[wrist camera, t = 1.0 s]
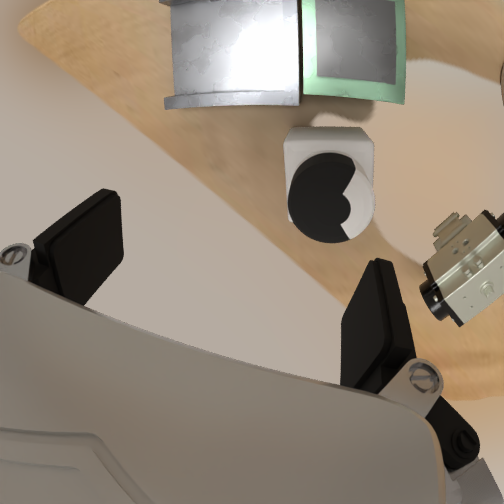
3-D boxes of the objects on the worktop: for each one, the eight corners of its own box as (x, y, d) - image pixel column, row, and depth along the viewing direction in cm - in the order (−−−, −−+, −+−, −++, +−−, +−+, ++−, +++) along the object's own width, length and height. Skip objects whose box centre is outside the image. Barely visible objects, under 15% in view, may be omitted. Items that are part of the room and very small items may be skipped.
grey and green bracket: (387, -6, 19) (405, -25, 13) (387, 110, 25) (405, 120, 20) (174, -2, 23) (141, -15, 17) (179, 105, 29) (148, 115, 24)
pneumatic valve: (492, 211, 28) (543, 270, 18) (424, 271, 34) (450, 344, 24) (471, 177, 27) (527, 230, 17) (399, 243, 33) (424, 316, 23)
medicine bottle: (294, 193, 32) (281, 254, 22) (289, 126, 29) (274, 156, 19) (361, 193, 31) (379, 256, 21) (362, 126, 27) (388, 157, 17)
